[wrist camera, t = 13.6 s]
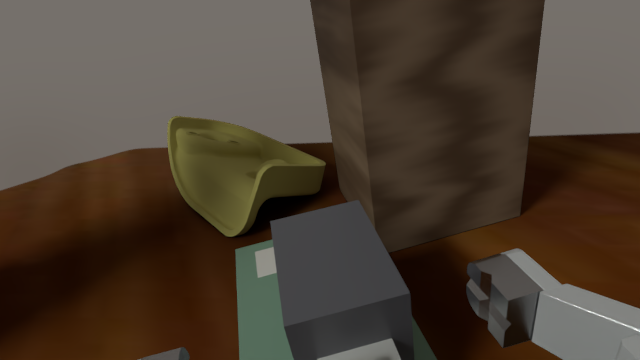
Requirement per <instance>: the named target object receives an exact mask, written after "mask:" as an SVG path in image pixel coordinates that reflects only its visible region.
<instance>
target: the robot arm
mask: <svg viewBox="0 0 640 360" xmlns="http://www.w3.org/2000/svg"><path fill="white" fill-rule="evenodd" d="M467 274H468V275H469V276H470V278H471V279H470V280H469V282H468V283H467V285H466V289H467V296H468V300H469V303H470V305H471V307H472V308H473V310H474V311H475V313H476V314H477V315H478V317H480V318H483V319H485V320H487V321H488V330H489V331H490V332H491V333H492V335H493V336H494V337H495V339H496V340H497V341H498V342H499V344H500V345H501V346H502V347H503V348H505V347H509V346H512V345H515V344H519V343H522V342H526V341H529V340H532V342H534V343H535V344H537V345H539V346H541V347H542V348H544V349H546V350H547V351H549V352H551V353H553V354H554V355H556V356H558V357H560V358H561V359H563V360H640V309H639V308H636V307H633V306H630V305H627V304H624V303H621V302H618V301H616V300H613V299H610V298H607V297H604V296H601V295H598V294H595V293H593V292H590V291H587V290H584V289H581V288H578V287H575V286H572V285H570V284H564V285H562V284H560V283H559V282H558V281H557V280H556V279H555V278H554V277H552V276H551V275H550V274H549V273H548V272H547V271H545V270H544V269H543V268H542V267H541V266H540V265H539V264H537V263H536V262H535V261H534V260H533V259H532V258H530V257H529V256H528V255H527V254H526V253H525V252H524V251H522V250H520V249H518V248H517V249H513V250H510V251H507V252H503V253H501V254H496V255H493V256H490V257H486V258H483V259H480V260H477V261H473V262H470V263H469V264H468V266H467ZM138 360H189V354H188V352H187V351H186V349H185V348H178V349H174V350H171V351H167V352H163V353H159V354H156V355H152V356H148V357H144V358H142V359H138Z"/></svg>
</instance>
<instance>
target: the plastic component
mask: <svg viewBox="0 0 640 360" xmlns="http://www.w3.org/2000/svg"><path fill="white" fill-rule="evenodd" d="M167 134H168V153H169V160H170V165H171V169H172V173H173V177H174V180H175V182H176V185H177V187H178V189H179V191H180V193H181V195H182V196H183V198H184V199H185V201H186V202H187V203H188V204H189V206H190V207H192V208H193V209H194V210H195V211H196V212H198V213H199V214H200V215H201V216H202V217H204V218H205V219H206V220H207V221H208V222H210V223H211V224H212V225H213V226H214V227H216V228H217V229H218V230H219V231H220V232H222V233H223V234H224V235H225V236H229V237H233V236H239V235H242V234H244V233H246V232H247V231H248V230H249V229H250V228H251V227H252V225H253V223H254V221H255V219H256V216H257V213H258V210H259V208H260V206H261V205H262V204H263V202H265V201H266V200H267V199H269V198H273V197H288V196H302V195H313V194H316V193H317V192H318V191H319V190H320V187H321V183H322V178H323V174H324V170H325V166H326V163H325V162H324V161H322V160H320V159H318V158H316V157H313V156H311V155H309V154H306V153H304V152H302V151H299V150H297V149H295V148H293V147H290V146H288V145H286V144H283V143H281V142H279V141H276V140H274V139H271V138H269V137H267V136H264V135H262V134H260V133H258V132H255V131H253V130H250V129H247V128H244V127H241V126H238V125H234V124H230V123H225V122H220V121H215V120H208V119H201V118H191V117H181V116H175V117H172V118H171V119H170V120H169V123H168V133H167Z"/></svg>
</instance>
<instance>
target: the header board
mask: <svg viewBox="0 0 640 360" xmlns="http://www.w3.org/2000/svg"><path fill="white" fill-rule="evenodd" d="M235 252H236V277H237V303H238V329H239V355H240V360H294V359H293V356H292V352H291V349H290V346H289V342H288V339H287V336H286V332H285V329H284V324H283V317H282V309H281V301H280V294H279V286H278V278H277V270H276V263H275V255H274V247H273V240H269V241H265V242H261V243H258V244H254V245H250V246H247V247H243V248H239V249H235ZM412 329H413V345H414V360H437V359H436V357H435V355H434V353H433V352H432V350H431V348H430V346H429V345H428V343H427V341H426V339H425V338H424V336H423V334H422V332H421V331H420V329H419V327H418V325H417V324H416V322H415V320H414V318H413V317H412Z"/></svg>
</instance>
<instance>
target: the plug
mask: <svg viewBox="0 0 640 360" xmlns="http://www.w3.org/2000/svg"><path fill="white" fill-rule="evenodd" d="M270 224H271V232H272V239H273V247H274V255H275V263H276V270H277V278H278V286H279V294H280V301H281V309H282V317H283V324H284V329H285V332H286V336H287V339H288V342H289V346H290V349H291V352H292V356H293V359H294V360H414V345H413V329H412V313H411V297H410V292H409V290H408V288H407V286H406V284H405V283H404V281H403V279H402V277H401V275H400V274H399V272H398V270H397V268H396V266H395V265H394V263H393V261H392V259H391V257H390V256H389V254H388V252H387V250H386V248H385V247H384V245H383V243H382V241H381V239H380V238H379V236H378V234H377V232H376V230H375V229H374V227H373V225H372V223H371V221H370V220H369V218H368V216H367V214H366V212H365V211H364V209H363V207H362V205H361V203H360V202H359V200H356V201H352V202H347V203H343V204H339V205H335V206H331V207H327V208H323V209H319V210H314V211H310V212H306V213H302V214H298V215H294V216H290V217H286V218H281V219H277V220H273V221H270Z"/></svg>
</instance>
